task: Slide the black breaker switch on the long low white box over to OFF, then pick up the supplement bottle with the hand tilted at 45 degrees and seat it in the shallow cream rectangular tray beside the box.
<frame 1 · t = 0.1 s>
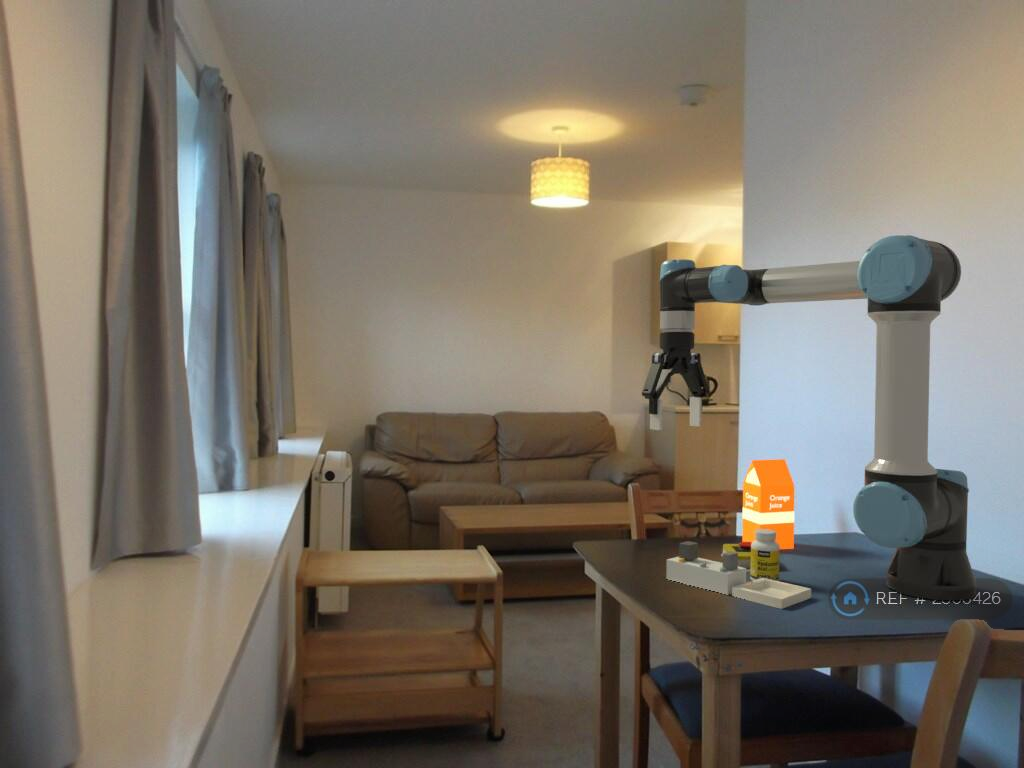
hand: (676, 428, 185), 28 cm above the table, tool pointing down, fingers open, 13 cm apart
emergency button: (749, 566, 179), on the table
breaker switch: (688, 550, 165), point 6 cm above the table, slide at 0.0 cm
orange juice: (767, 546, 194), on the table
long low white box: (705, 584, 162), on the table
shallow cream rectangular tray: (771, 597, 153), on the table
supplement bottle: (764, 581, 165), on the table
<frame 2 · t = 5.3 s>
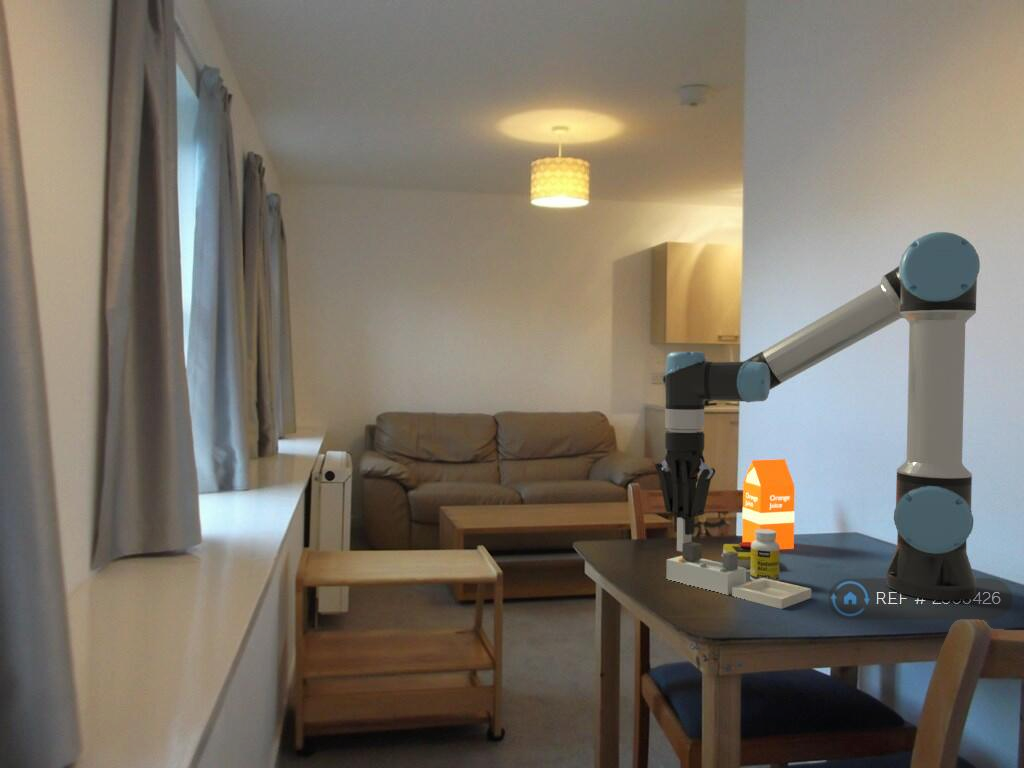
hand: (684, 550, 166), 6 cm above the table, tool pointing down, fingers closed
breaker switch: (691, 551, 164), point 6 cm above the table, slide at 0.8 cm, touching gripper
everything else where it was.
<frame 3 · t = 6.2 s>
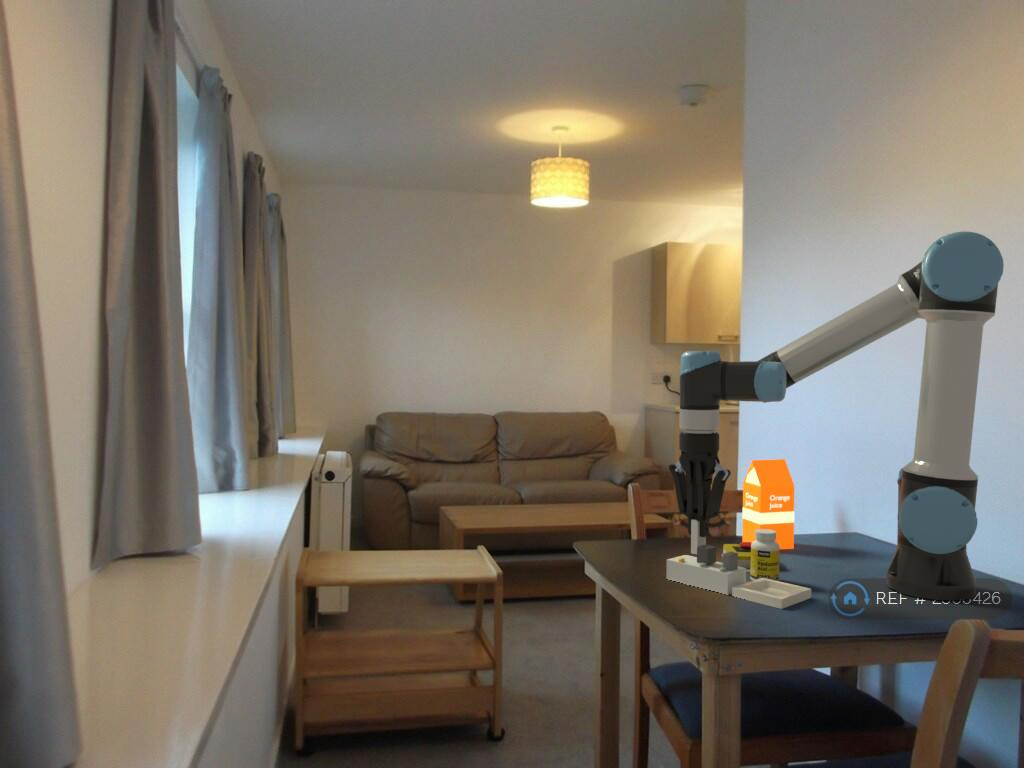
hand: (698, 552, 163), 6 cm above the table, tool pointing down, fingers closed
breaker switch: (706, 554, 161), point 6 cm above the table, slide at 4.2 cm, touching gripper
everything else where it was.
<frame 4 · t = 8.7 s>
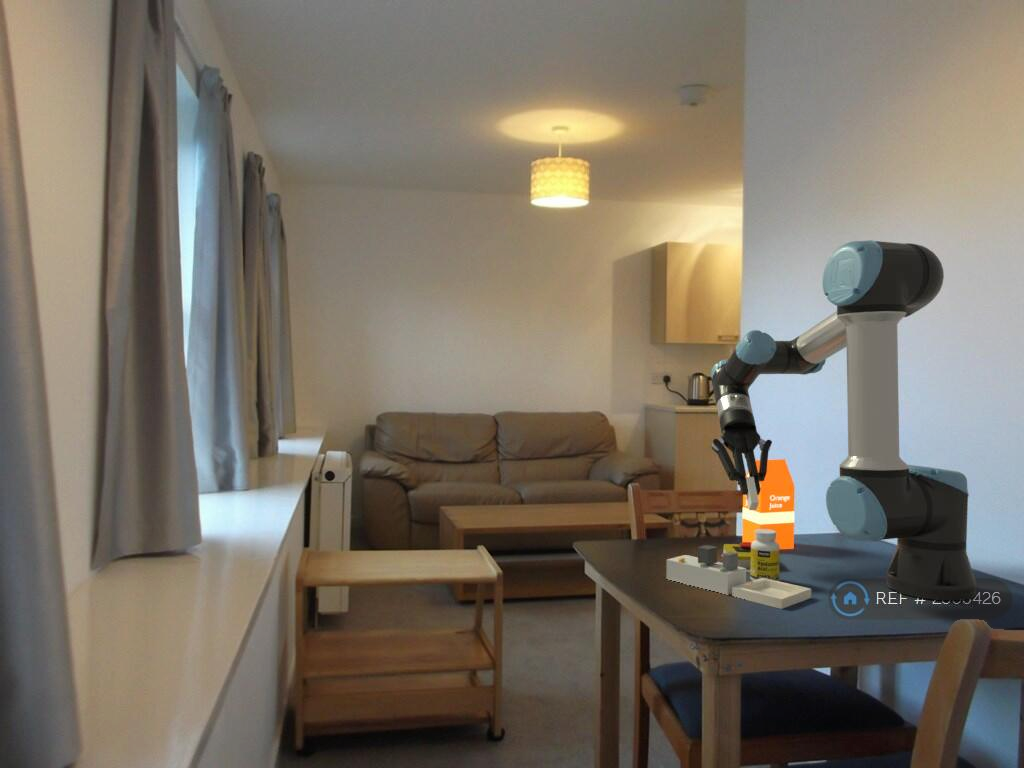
hand: (754, 506, 173), 13 cm above the table, tool tilted 45°, fingers closed
breaker switch: (707, 554, 161), point 6 cm above the table, slide at 4.4 cm
everything else where it was.
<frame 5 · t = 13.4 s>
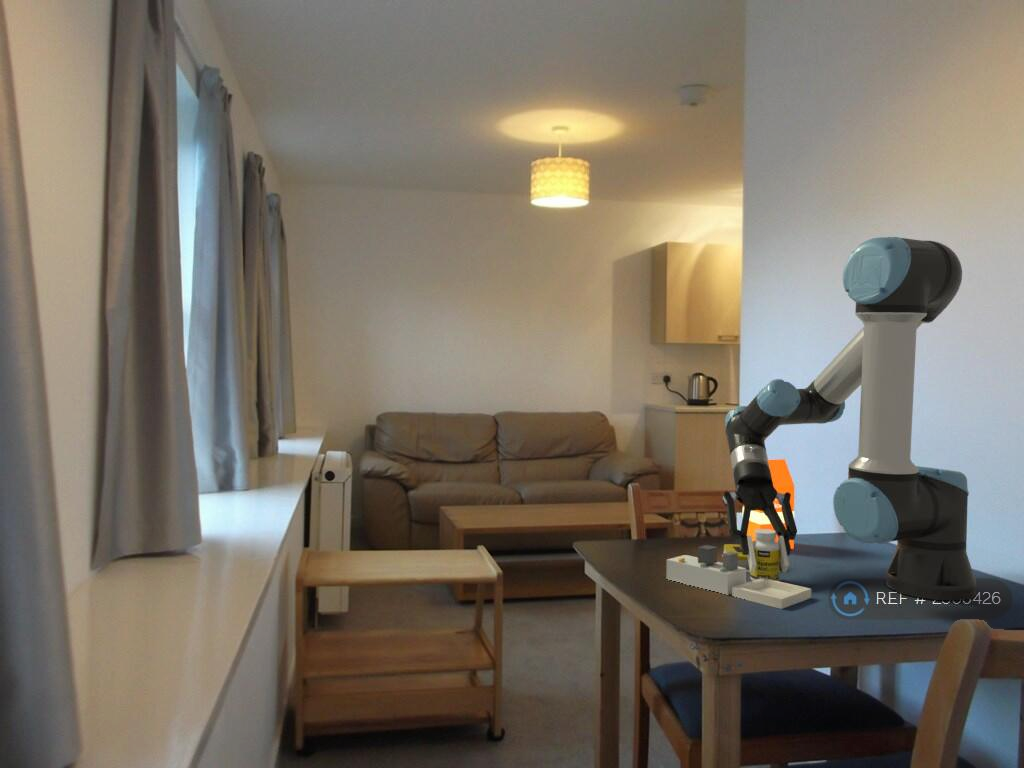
hand: (769, 568, 161), 3 cm above the table, tool tilted 45°, fingers closed on supplement bottle, 5 cm apart
supplement bottle: (764, 581, 165), on the table, touching gripper
everything else where it was.
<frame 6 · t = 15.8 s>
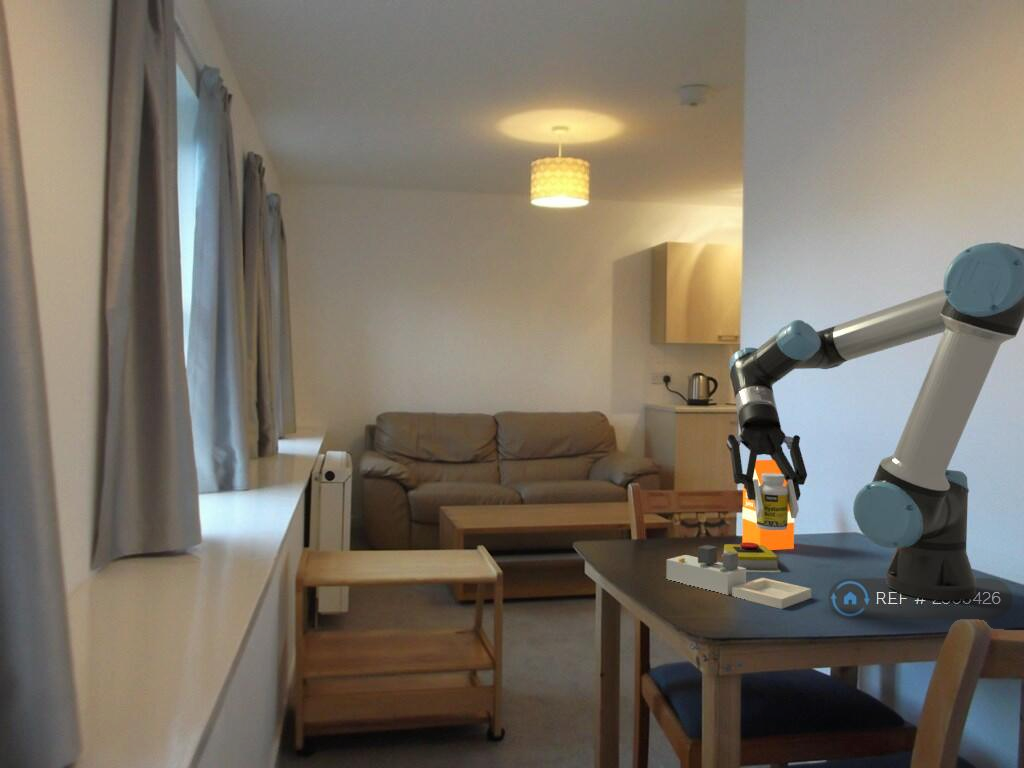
hand: (777, 513, 149), 16 cm above the table, tool tilted 45°, fingers closed on supplement bottle, 5 cm apart
supplement bottle: (772, 529, 153), point 12 cm above the table, touching gripper
everything else where it was.
when the fingers open (5 cm above the table, at t = 18.1 s): supplement bottle stays where it is, resting on shallow cream rectangular tray.
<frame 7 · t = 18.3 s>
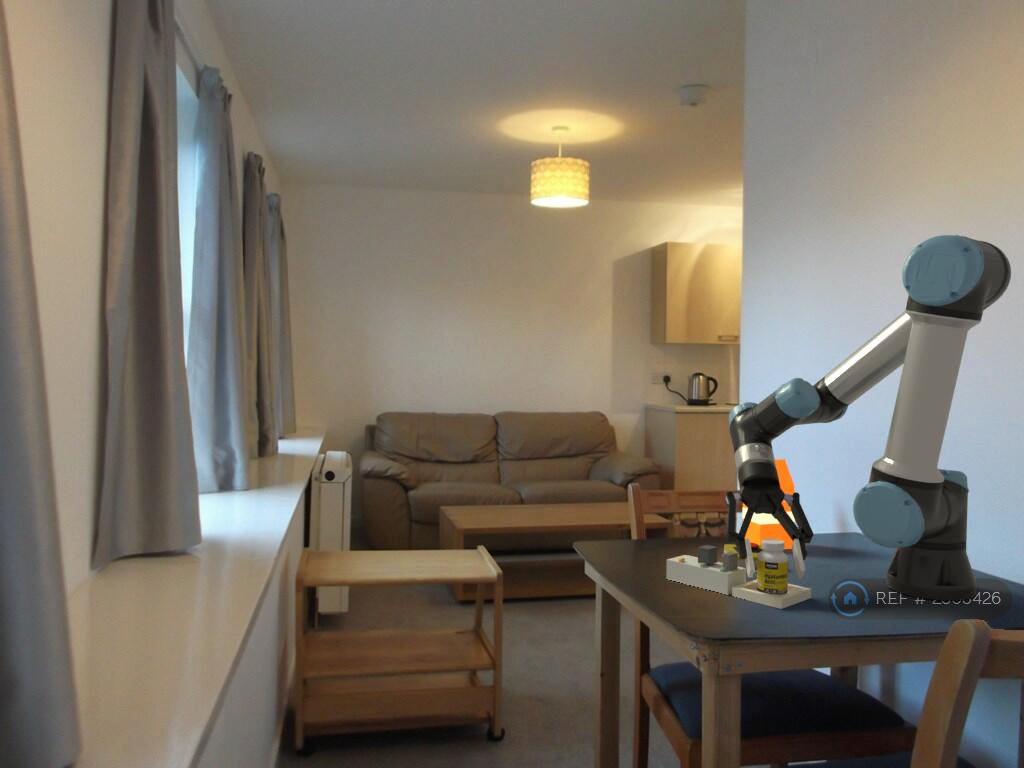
hand: (776, 574, 150), 5 cm above the table, tool tilted 45°, fingers open, 8 cm apart
supplement bottle: (772, 595, 153), resting on shallow cream rectangular tray
everything else where it was.
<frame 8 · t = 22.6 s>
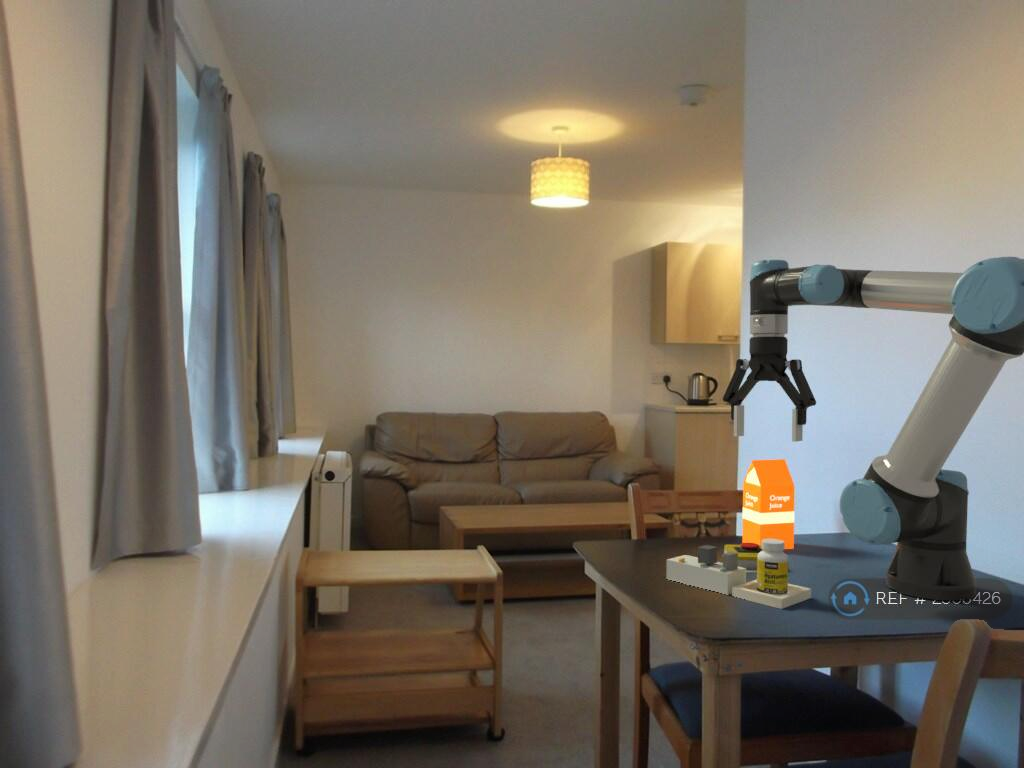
hand: (767, 438, 175), 27 cm above the table, tool pointing down, fingers open, 13 cm apart
nothing on the table moved.
at the end: supplement bottle 0.1 cm from the shallow cream rectangular tray (horizontally); supplement bottle tilted 0°; breaker switch slide at 4.4 cm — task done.
